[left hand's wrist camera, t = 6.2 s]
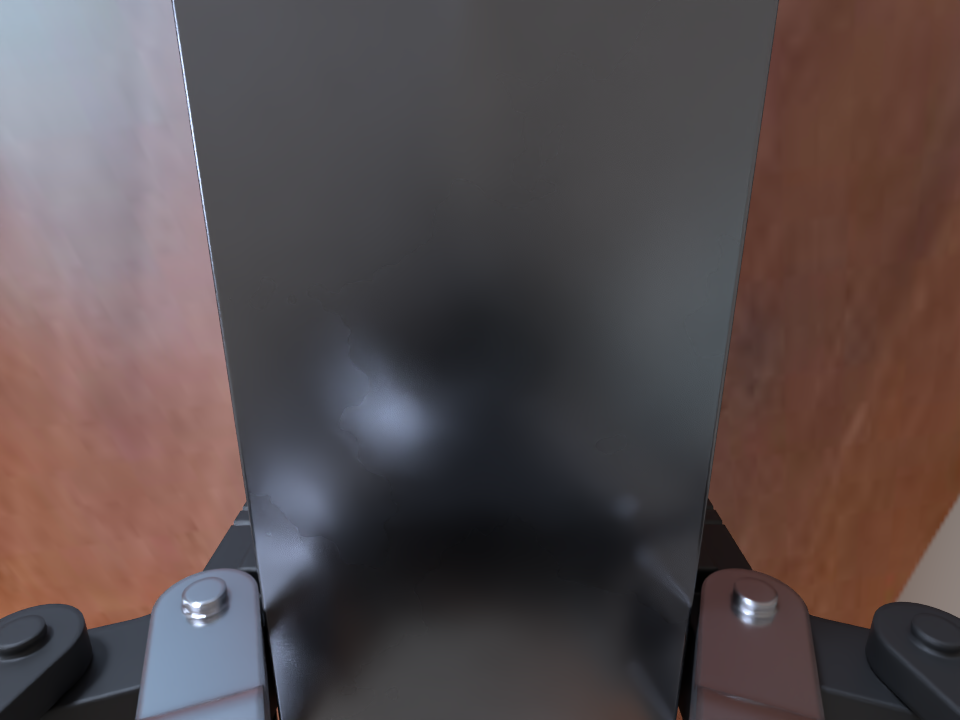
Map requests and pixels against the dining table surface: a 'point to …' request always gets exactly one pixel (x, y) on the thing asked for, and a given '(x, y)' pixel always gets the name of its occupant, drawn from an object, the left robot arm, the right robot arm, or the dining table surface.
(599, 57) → the bar
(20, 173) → the dining table surface
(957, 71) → the dining table surface
